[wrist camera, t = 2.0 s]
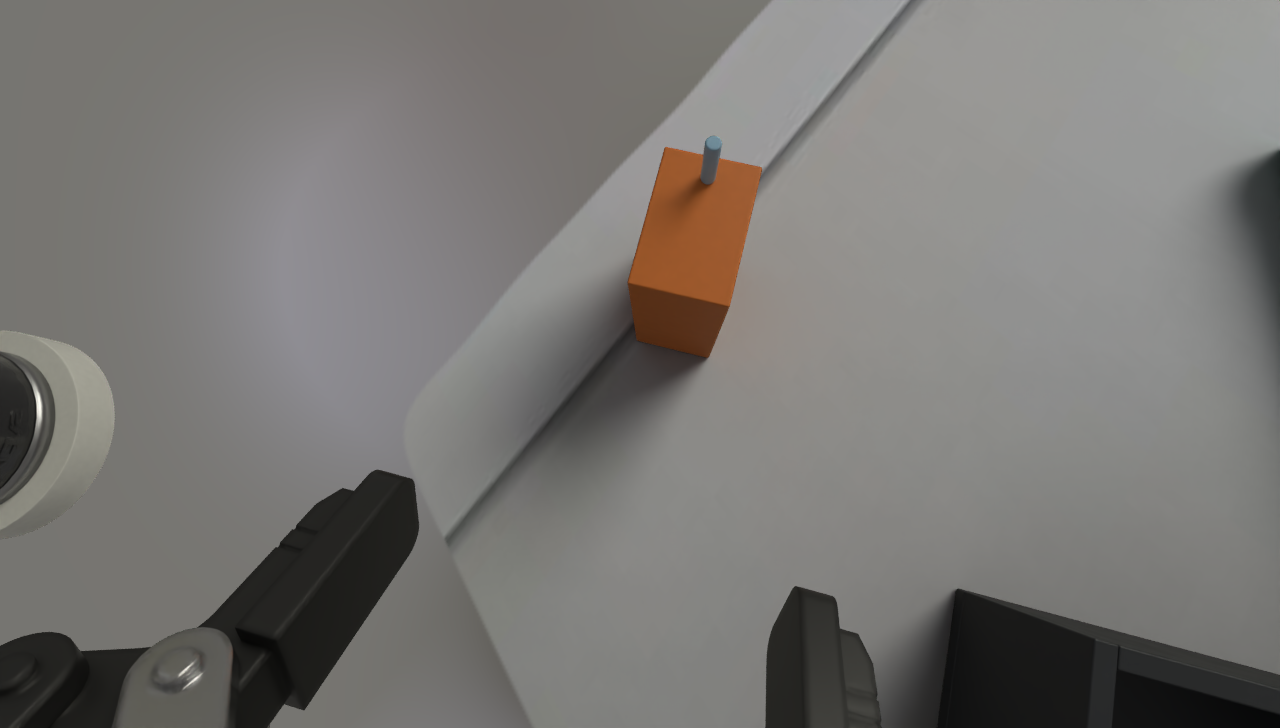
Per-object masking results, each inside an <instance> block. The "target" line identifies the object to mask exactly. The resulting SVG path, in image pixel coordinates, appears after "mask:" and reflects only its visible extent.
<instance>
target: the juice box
mask: <svg viewBox="0 0 1280 728" xmlns="http://www.w3.org/2000/svg"><path fill="white" fill-rule="evenodd" d="M721 147H722V141H721V140H720V138H719V137H717V136H710V137H709V138H707V139H706V141H705V147H704V154H703V155H701V154H697V153H692V152H687V151H683V150H678V149H673V148H668V147H665V149H664V152H663V156H662V160H661V163H660V167H659V170H658V174H657V178H656V181H655V185H654V188H653V192H652V196H651V199H650V203H649V206H648V210H647V214H646V217H645V221H644V225H643V228H642V232H641V235H640V239H639V243H638V246H637V250H636V253H635V257H634V261H633V264H632V268H631V271H630V275H629V279H628V288H629V294H630V301H631V307H632V314H633V320H634V326H635V333H636V339H637V341H640V342H645V343H649V344H653V345H657V346H661V347H665V348H669V349H673V350H677V351H681V352H686V353H690V354H694V355H698V356H702V357H706V358H708V357H709V356H710V353H711V351H712V348H713V346H714V343H715V341H716V338H717V336H718V333H719V331H720V329H721V326H722V324H723V321H724V319H725V316H726V314H727V311H728V309H729V307H730V303H731V298H732V294H733V290H734V286H735V282H736V277H737V273H738V269H739V265H740V260H741V256H742V252H743V248H744V244H745V239H746V235H747V231H748V227H749V222H750V218H751V214H752V210H753V206H754V201H755V197H756V193H757V189H758V185H759V180H760V176H761V172H762V168H761V167H758V166H753V165H748V164H744V163H739V162H734V161H729V160H725V159H720V158H719V157H720V152H721Z"/></svg>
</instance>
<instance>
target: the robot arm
mask: <svg viewBox="0 0 1280 728" xmlns="http://www.w3.org/2000/svg"><path fill="white" fill-rule="evenodd" d="M54 426H55V403H54V397H53V394H52V390H51V388H50V386H49V383H48V382H47V380H46V378H45V377H44V375H43V374H42V373H41V372H40V370H39V369H38V368H37V367H36V366H34V365H33V364H32V363H31V362H29V361H27V360H26V359H24V358H22V357H20V356H17V355H14V354H11V353H6V352H1V351H0V505H1V504H2V503H4V502H6V501H7V500H8V499H10V498H11V497H12V496H14V495H15V494H16V493H17V492H18V491H19V490H20V489H21V488H22V487H23V486H24V485H25V484H26V483H27V482H28V481H29V480H30V479H31V478H32V476H33V475H34V474H35V472H36V471H37V469H38V468H39V466H40V465H41V463H42V461H43V459H44V457H45V455H46V453H47V451H48V448H49V446H50V443H51V440H52V436H53V432H54ZM418 531H419V521H418V511H417V503H416V493H415V484H414V481H413V480H412V479H410V478H407V477H403V476H399V475H396V474H392V473H389V472H385V471H381V470H375V471H373V472H371V473H370V474H369V475H368V476H367V477H366V478H365V479H364V480H363V481H362V483H361V484H360V485H359V486H358V487H357V488H356V489H355V491H351V490H348V489H344V488H342V489H340V490H339V491H337V492H335V493H334V494H332V495H330V496H329V497H327V498H325V499H324V500H322V501H320V502H319V503H317V504H316V505H315V506H314V507H313V508H312V509H311V510H310V511H309V512H308V513H307V514H306V515H305V517H304V518H303V519H302V520H301V521H300V522H299V523H298V524H297V525H296V528H295V529H294V530H292V531H290V533H289V534H288V535H287V536H286V537H285V538H284V539H283V540H282V541H281V542H280V545H279V547H278V548H277V547H276V548H275V549H274V550H273V551H272V552H271V553H270V554H269V555H268V556H267V557H266V558H265V559H264V560H263V561H262V563H261V564H260V565H259V566H258V567H257V568H256V569H255V570H254V571H253V572H252V573H251V574H250V575H249V577H248V578H247V579H246V580H245V581H244V582H243V583H242V584H241V585H240V586H239V587H238V588H237V589H236V591H235V592H234V593H233V594H232V595H231V596H230V597H229V598H228V599H227V600H226V601H225V602H224V603H223V604H222V605H221V606H220V608H219V609H218V610H217V611H216V612H215V613H214V614H213V615H212V616H211V617H210V618H209V619H208V620H206V621H205V622H204V623H202V624H201V625H200V626H199V627H197V628H192V629H188V630H184V631H181V632H178V633H175V634H173V635H171V636H168V637H167V638H165V639H163V640H161V641H159V642H158V643H156V644H155V645H154V646H152V647H147V648H135V649H117V650H97V651H80V650H79V649H78V647H77V646H76V645H75V644H74V642H73V641H72V640H71V639H70V638H69V637H67V636H66V635H63V634H60V633H54V632H42V633H35V634H31V635H27V636H23V637H20V638H17V639H15V640H12V641H10V642H7V643H5V644H3V645H1V646H0V728H270V723H271V722H272V720H273V719H274V717H275V716H276V714H277V713H278V712H279V710H280V709H281V707H282V706H283V705H284V704H286V705H289V706H292V707H295V708H298V709H301V710H305V708H306V707H307V706H308V704H309V702H310V701H311V700H312V698H313V697H314V695H315V694H316V692H317V691H318V689H319V688H320V686H321V684H322V683H323V682H324V680H325V679H326V677H327V676H328V674H329V673H330V671H331V670H332V669H333V667H334V665H335V664H336V663H337V661H338V660H339V658H340V657H341V655H342V654H343V652H344V651H345V649H346V648H347V646H348V645H349V643H350V642H351V640H352V639H353V637H354V636H355V634H356V633H357V631H358V630H359V628H360V627H361V626H362V624H363V623H364V621H365V620H366V618H367V617H368V615H369V614H370V612H371V610H372V609H373V608H374V606H375V605H376V603H377V602H378V600H379V599H380V597H381V596H382V594H383V593H384V591H385V590H386V588H387V587H388V586H389V584H390V583H391V581H392V580H393V578H394V577H395V575H396V574H397V572H398V571H399V569H400V568H401V566H402V565H403V563H404V562H405V560H406V559H407V557H408V556H409V554H410V553H411V551H412V549H413V547H414V544H415V542H416V539H417V535H418ZM880 723H881V716H880V709H879V702H878V701H877V688H876V682H875V675H874V668H873V663H872V661H871V659H870V657H869V655H868V653H867V651H866V649H865V647H864V645H863V643H862V641H861V639H860V637H859V635H858V634H856V633H853V632H849V631H846V630H842V629H840V627H839V617H838V607H837V602H836V600H835V598H834V597H833V596H830V595H827V594H823V593H819V592H816V591H812V590H808V589H805V588H801V587H797V586H795V587H794V588H793V589H792V591H791V593H790V595H789V596H788V598H787V600H786V602H785V604H784V606H783V608H782V610H781V612H780V614H779V616H778V618H777V620H776V622H775V624H774V626H773V628H772V631H771V634H770V638H769V643H768V649H767V665H766V727H765V728H882V727H881V725H880Z"/></svg>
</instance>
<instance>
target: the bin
mask: <svg viewBox="0 0 1280 728" xmlns="http://www.w3.org/2000/svg"><path fill="white" fill-rule="evenodd" d="M937 728H1280V675H1278V674H1274V673H1270V672H1267V671H1263V670H1259V669H1256V668H1252V667H1248V666H1244V665H1241V664H1237V663H1233V662H1229V661H1226V660H1222V659H1218V658H1215V657H1211V656H1207V655H1203V654H1200V653H1196V652H1192V651H1188V650H1185V649H1181V648H1177V647H1174V646H1170V645H1166V644H1162V643H1159V642H1155V641H1151V640H1148V639H1144V638H1140V637H1136V636H1133V635H1129V634H1125V633H1121V632H1118V631H1114V630H1110V629H1107V628H1103V627H1099V626H1095V625H1092V624H1088V623H1084V622H1081V621H1077V620H1073V619H1069V618H1066V617H1062V616H1058V615H1054V614H1051V613H1047V612H1043V611H1040V610H1036V609H1032V608H1028V607H1025V606H1021V605H1017V604H1014V603H1010V602H1006V601H1002V600H999V599H995V598H991V597H987V596H984V595H980V594H976V593H973V592H969V591H965V590H961V589H957V590H956V596H955V604H954V611H953V618H952V625H951V632H950V640H949V647H948V654H947V661H946V668H945V675H944V683H943V690H942V697H941V704H940V711H939V718H938V726H937Z"/></svg>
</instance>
